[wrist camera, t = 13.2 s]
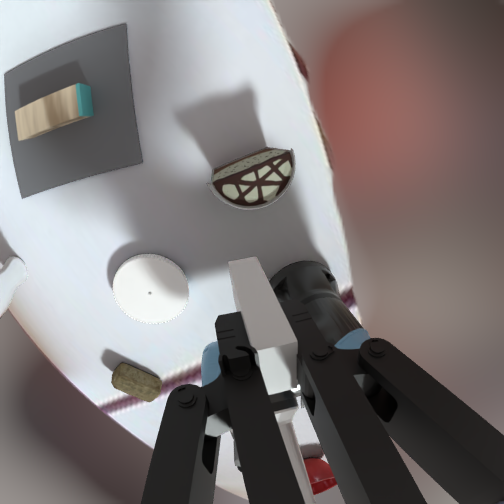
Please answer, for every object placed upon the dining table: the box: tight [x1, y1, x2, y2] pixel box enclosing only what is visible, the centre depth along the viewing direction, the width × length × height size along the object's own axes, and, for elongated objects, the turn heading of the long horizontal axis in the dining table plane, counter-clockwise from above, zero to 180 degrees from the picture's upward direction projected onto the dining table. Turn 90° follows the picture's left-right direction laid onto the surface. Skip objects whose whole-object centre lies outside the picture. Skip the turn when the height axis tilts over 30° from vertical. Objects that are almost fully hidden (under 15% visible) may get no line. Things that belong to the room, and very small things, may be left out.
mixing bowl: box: [303, 458, 337, 495], centre depth 95 cm, size 28×28×16 cm
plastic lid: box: [112, 254, 189, 324], centre depth 49 cm, size 14×14×2 cm
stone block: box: [111, 363, 162, 402], centre depth 57 cm, size 6×12×5 cm, turn 50°
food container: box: [206, 147, 295, 210], centre depth 41 cm, size 12×6×10 cm, turn 111°
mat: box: [4, 24, 143, 199], centre depth 34 cm, size 24×24×1 cm
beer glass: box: [0, 256, 28, 319], centre depth 36 cm, size 7×7×15 cm
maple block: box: [15, 83, 94, 141], centre depth 31 cm, size 5×5×12 cm
